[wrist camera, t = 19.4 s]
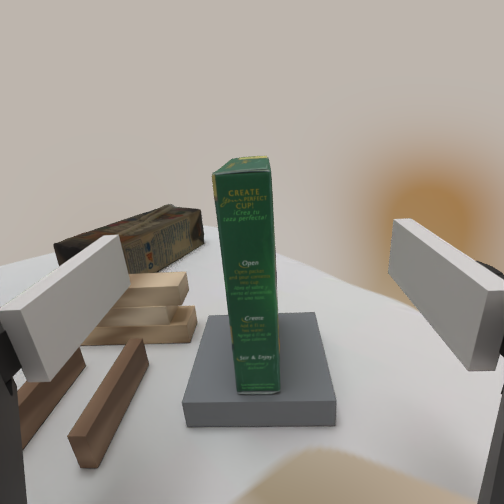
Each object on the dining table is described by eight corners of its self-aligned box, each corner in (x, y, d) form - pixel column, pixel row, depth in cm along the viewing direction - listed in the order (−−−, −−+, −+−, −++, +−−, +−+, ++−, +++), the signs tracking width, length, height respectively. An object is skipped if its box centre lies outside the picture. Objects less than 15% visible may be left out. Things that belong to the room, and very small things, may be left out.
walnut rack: (-8, 467, 18) (-26, 436, 17) (73, 365, 25) (64, 340, 24) (97, 467, 17) (85, 436, 16) (149, 364, 25) (142, 338, 24)
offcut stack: (66, 345, 28) (46, 292, 25) (84, 325, 30) (68, 275, 28) (189, 342, 27) (179, 287, 25) (197, 321, 29) (188, 270, 27)
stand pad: (187, 426, 19) (181, 402, 18) (211, 334, 28) (208, 315, 27) (335, 425, 19) (336, 400, 18) (314, 331, 27) (314, 312, 26)
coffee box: (243, 317, 26) (228, 154, 21) (278, 316, 26) (270, 151, 21) (233, 396, 19) (206, 172, 14) (282, 395, 18) (271, 167, 13)
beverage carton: (208, 244, 49) (203, 203, 47) (107, 306, 34) (91, 250, 31) (169, 239, 53) (162, 201, 50) (62, 293, 37) (44, 242, 35)
